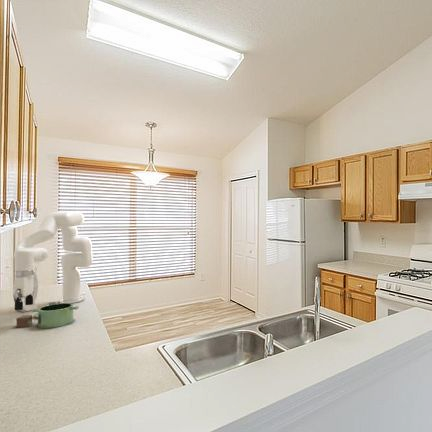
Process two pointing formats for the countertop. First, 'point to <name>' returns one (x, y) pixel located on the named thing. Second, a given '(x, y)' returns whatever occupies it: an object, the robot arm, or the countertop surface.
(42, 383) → the countertop surface
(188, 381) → the countertop surface
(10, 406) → the countertop surface
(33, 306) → the skyscraper
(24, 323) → the block
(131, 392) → the countertop surface
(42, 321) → the pot
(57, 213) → the robot arm
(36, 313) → the pot lid
